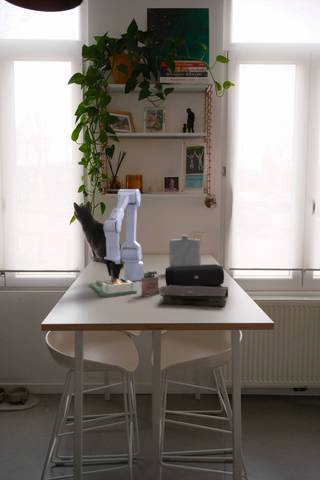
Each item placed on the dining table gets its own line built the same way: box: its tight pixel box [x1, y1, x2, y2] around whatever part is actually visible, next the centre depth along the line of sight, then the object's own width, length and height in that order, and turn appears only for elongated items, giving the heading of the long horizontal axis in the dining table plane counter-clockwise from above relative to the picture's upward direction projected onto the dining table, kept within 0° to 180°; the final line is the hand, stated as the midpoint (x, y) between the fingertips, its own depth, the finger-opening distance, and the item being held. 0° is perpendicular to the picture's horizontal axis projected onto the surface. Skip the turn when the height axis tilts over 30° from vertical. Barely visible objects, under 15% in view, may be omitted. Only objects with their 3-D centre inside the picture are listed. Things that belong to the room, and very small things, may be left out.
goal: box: [102, 280, 134, 294], centre depth 202 cm, size 12×6×4 cm, turn 112°
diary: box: [160, 285, 229, 308], centre depth 188 cm, size 19×25×5 cm
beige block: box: [105, 270, 123, 285], centre depth 206 cm, size 6×5×8 cm
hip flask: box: [168, 234, 202, 267], centre depth 240 cm, size 16×4×20 cm, turn 85°
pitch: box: [89, 279, 138, 298], centre depth 209 cm, size 15×23×2 cm, turn 22°
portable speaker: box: [164, 263, 225, 287], centre depth 211 cm, size 26×10×10 cm, turn 97°
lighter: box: [140, 270, 160, 297], centre depth 198 cm, size 8×3×10 cm, turn 118°
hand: (113, 277), depth 206 cm, fingers open, 6 cm apart
